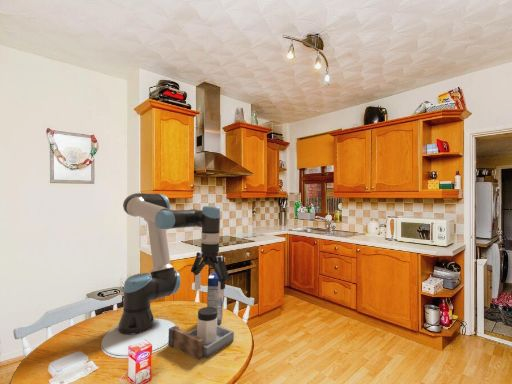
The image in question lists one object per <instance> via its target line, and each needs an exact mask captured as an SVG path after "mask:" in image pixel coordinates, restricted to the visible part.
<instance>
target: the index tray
mask: <svg viewBox="0 0 512 384" xmlns="http://www.w3.org/2000/svg"><path fill="white" fill-rule="evenodd" d="M187 332H188V333H190V334H192V335H195V336H197V327H195V328H193V329H191V330H190V331H187ZM234 335H235V331H233V330H231V329H228V328H226V327H223V326H222V325H219V324H217V338H216V341H215V342H213V343H210V344H207V345H204V344H203V359H204V358H205V359H208V358H210V357H212V356H213V355H214V354H216V353H218V352H219V351H221V350H222V349H224V348H225V347H227V346H228V345H230V344H232V343H233V342H234V340H235V339H234Z"/></svg>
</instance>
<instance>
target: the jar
mask: <svg viewBox="0 0 512 384" xmlns="http://www.w3.org/2000/svg"><path fill="white" fill-rule="evenodd" d="M217 315H218V313H217V309H216V308H214V307H207V306H205V307H201V308H200V309H198V311H197V321H196V322H197V323H196V324H197V325H196V328H197V337H199V338H201V339H204V340H203V344H204V345H207V344H210V343H213V342H215V341H216V338H217V325H218V324H217Z"/></svg>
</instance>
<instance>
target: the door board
mask: <svg viewBox="0 0 512 384" xmlns="http://www.w3.org/2000/svg"><path fill="white" fill-rule="evenodd" d="M188 332H189V331H185V330H183V329H181V328H180V326H177V325H174V326H172V327H169V328H168V338H167V339H168V341H167V343H168V344H167V345H168V346H167V347H170V348H172V349H173V348H174V349H176V350H178V351H180V352H181V353H184V354H185V355H188V356H189V357H191V358H194V359H195V360H197V361H201V360H202V359H204V357H203V340H204V339H201V338H199V337H197V336H195V335H192V334H190V333H188Z"/></svg>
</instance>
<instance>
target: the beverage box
mask: <svg viewBox="0 0 512 384" xmlns="http://www.w3.org/2000/svg"><path fill="white" fill-rule="evenodd" d="M218 281H220V280H219V278H218V276H217V274H216V272H215V271H214V272H213V271H211V273H210V274H209V276H208V278H207V300H206V301H207V303H206V304H207V305H206V307H214V308H216V309H217V313H218V315H217V325H222V320H223V318H224V306H225V305H224V302H225V301H224V299H225V295H224V296H223V297H220V298H218Z"/></svg>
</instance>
